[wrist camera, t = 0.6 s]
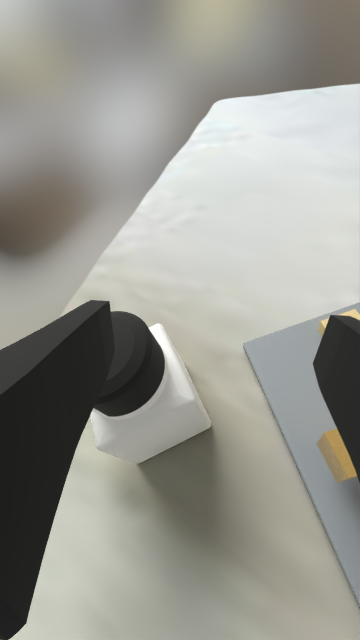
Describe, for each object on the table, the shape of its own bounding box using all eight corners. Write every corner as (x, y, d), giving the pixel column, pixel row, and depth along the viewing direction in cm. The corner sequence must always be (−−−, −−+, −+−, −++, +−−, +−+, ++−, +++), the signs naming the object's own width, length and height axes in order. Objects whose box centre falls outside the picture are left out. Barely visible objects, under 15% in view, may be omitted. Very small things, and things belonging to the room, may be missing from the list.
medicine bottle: (181, 359, 28) (136, 280, 18) (213, 427, 24) (176, 371, 14) (116, 391, 28) (36, 329, 18) (136, 465, 24) (46, 436, 14)
